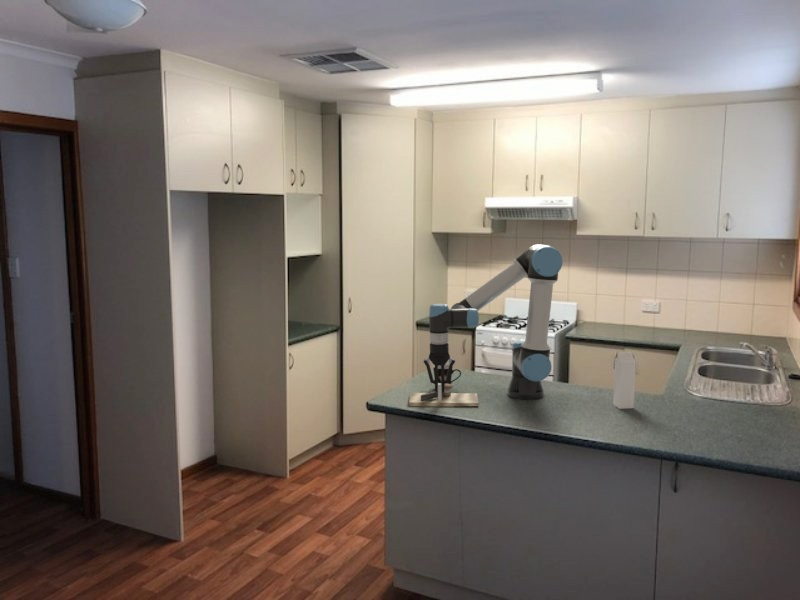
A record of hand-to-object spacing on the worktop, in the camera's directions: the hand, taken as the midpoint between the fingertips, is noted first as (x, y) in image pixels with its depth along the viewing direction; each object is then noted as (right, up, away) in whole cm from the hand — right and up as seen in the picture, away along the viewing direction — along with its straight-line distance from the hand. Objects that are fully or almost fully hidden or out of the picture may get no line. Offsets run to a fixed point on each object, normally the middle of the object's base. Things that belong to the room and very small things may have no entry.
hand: (439, 399), depth 264 cm
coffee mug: (+4, +1, +25) cm, 25 cm away
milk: (+73, -2, -3) cm, 74 cm away
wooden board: (+2, -2, +6) cm, 7 cm away
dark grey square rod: (-1, 0, +5) cm, 5 cm away
